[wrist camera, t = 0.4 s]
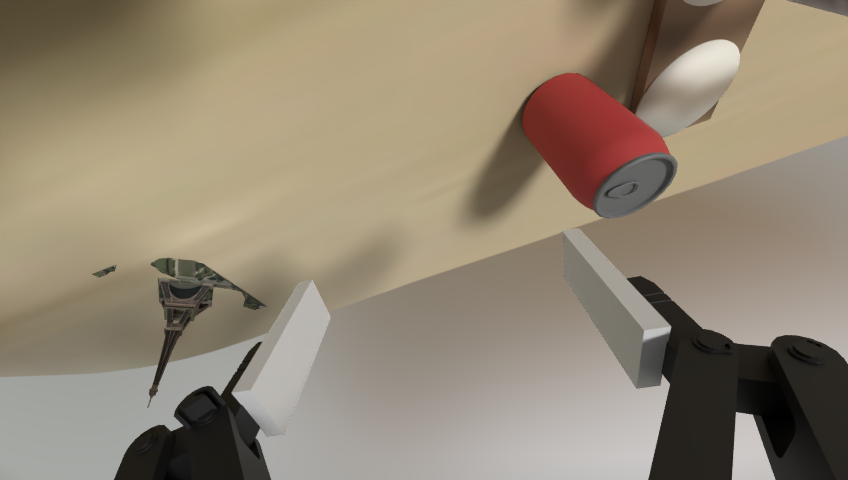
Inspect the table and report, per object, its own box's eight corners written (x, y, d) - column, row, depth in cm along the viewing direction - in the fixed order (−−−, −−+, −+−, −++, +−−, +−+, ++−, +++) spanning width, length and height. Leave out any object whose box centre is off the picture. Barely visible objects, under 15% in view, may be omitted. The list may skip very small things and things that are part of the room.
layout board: (686, -153, 18) (1012, -181, 10) (853, -229, 17) (1378, -334, 9) (619, 143, 34) (718, 233, 25) (704, 112, 33) (836, 194, 25)
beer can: (526, 75, 26) (609, 157, 19) (599, 64, 27) (709, 139, 19) (513, 144, 31) (575, 231, 24) (575, 134, 32) (654, 215, 24)
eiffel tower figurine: (269, 302, 44) (255, 406, 35) (204, 324, 45) (175, 431, 36) (175, 239, 32) (120, 369, 24) (91, 270, 33) (9, 407, 25)
